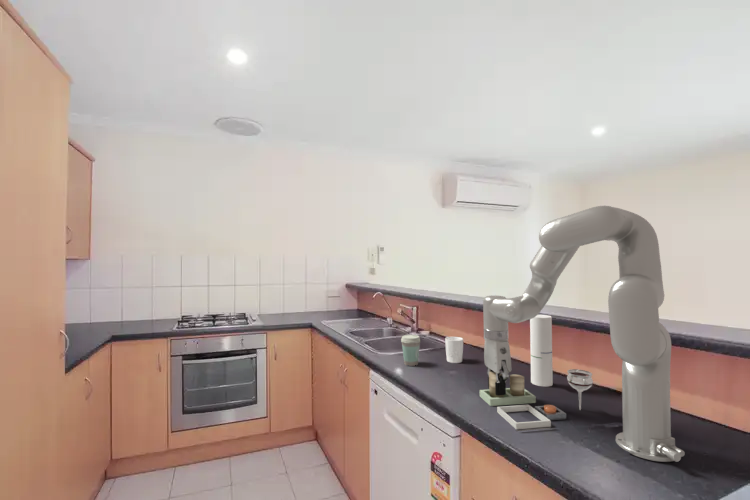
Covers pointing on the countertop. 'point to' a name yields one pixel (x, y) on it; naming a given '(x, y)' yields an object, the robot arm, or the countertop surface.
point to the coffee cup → (410, 349)
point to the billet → (493, 384)
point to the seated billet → (517, 385)
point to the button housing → (551, 416)
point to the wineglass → (579, 381)
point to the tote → (524, 425)
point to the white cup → (454, 349)
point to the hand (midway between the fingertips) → (496, 391)
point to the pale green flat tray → (507, 398)
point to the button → (549, 408)
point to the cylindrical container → (541, 350)
